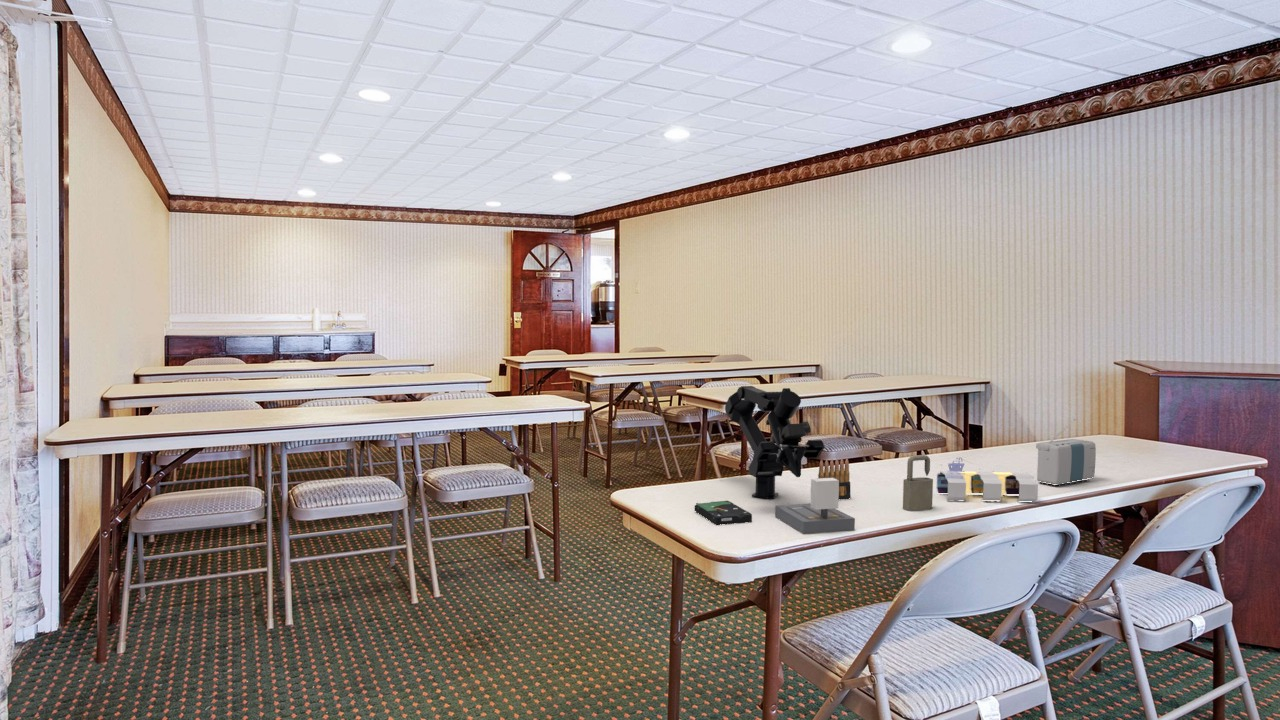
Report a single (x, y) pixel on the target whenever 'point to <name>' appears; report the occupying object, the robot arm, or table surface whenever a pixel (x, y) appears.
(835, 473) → the ammunition clip
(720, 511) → the disk drive
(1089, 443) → the stereo radio cassette player
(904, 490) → the padlock
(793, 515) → the panel
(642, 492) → the table surface
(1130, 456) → the table surface
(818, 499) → the fader knob
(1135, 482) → the table surface
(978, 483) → the diorama
